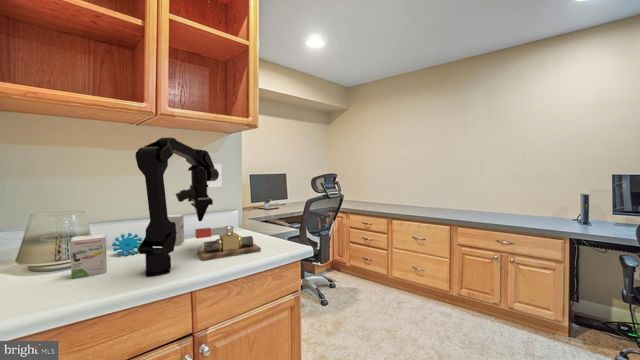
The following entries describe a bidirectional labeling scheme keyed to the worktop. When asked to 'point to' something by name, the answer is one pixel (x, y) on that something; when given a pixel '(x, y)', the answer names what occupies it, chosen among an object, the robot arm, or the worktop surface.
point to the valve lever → (213, 231)
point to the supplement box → (178, 227)
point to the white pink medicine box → (88, 255)
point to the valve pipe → (228, 243)
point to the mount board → (227, 252)
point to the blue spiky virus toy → (127, 244)
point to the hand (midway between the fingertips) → (200, 221)
